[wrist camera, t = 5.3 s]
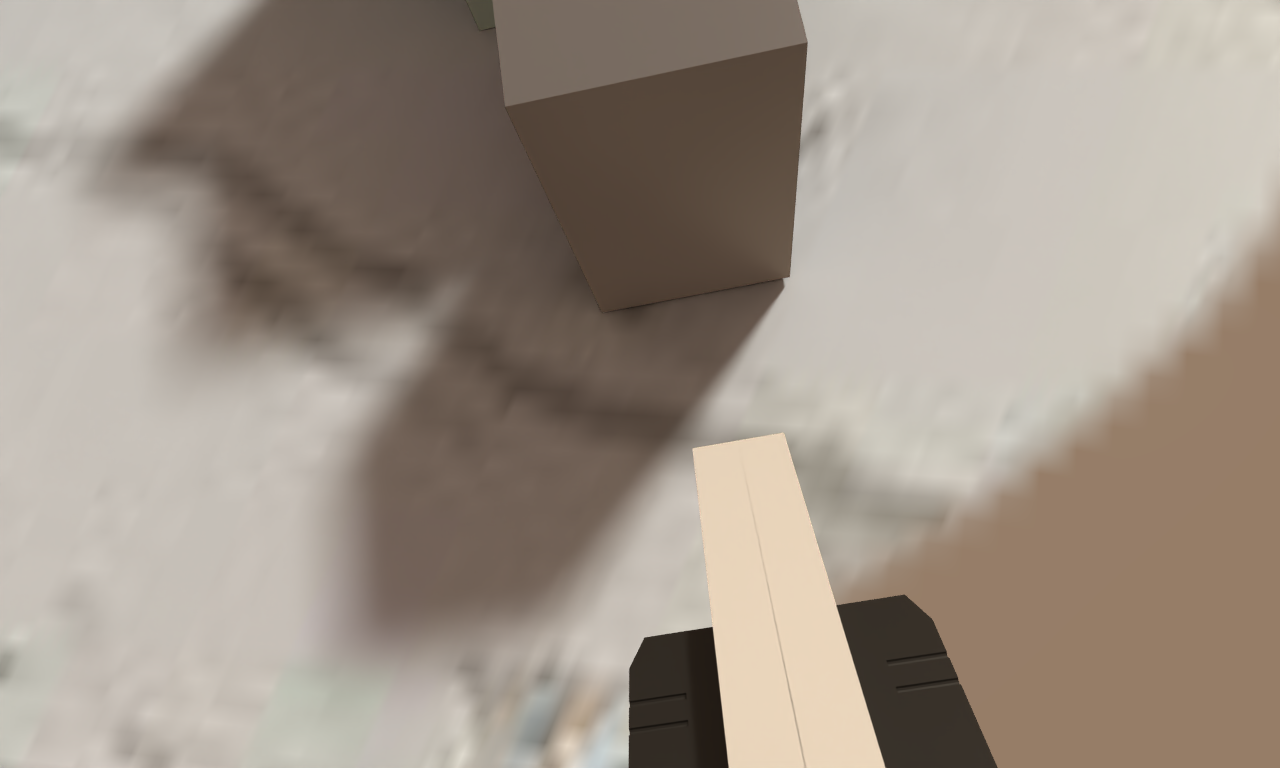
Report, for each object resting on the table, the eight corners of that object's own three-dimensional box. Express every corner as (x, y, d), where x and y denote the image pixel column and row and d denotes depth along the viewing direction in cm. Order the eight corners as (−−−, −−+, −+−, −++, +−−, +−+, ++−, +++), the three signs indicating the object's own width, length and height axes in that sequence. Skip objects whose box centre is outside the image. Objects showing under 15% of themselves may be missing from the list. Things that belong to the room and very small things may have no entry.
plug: (789, 276, 27) (807, 42, 17) (602, 312, 28) (504, 106, 17) (732, 17, 30) (716, -318, 20) (564, 54, 31) (462, -254, 20)
